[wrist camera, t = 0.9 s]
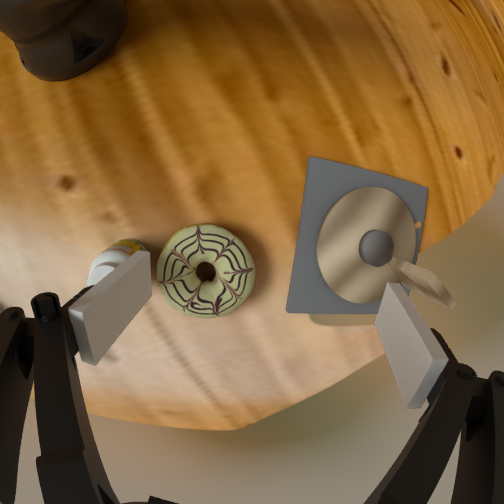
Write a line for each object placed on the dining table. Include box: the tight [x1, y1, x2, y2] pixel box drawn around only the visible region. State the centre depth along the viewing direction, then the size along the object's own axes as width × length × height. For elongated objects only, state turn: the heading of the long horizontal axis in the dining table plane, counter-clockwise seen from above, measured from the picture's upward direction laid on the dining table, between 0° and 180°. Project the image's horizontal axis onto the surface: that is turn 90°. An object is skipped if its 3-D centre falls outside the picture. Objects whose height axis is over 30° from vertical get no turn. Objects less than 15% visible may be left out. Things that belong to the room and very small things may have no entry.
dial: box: [316, 187, 456, 310], centre depth 32 cm, size 17×15×10 cm
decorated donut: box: [156, 223, 255, 319], centre depth 33 cm, size 10×11×4 cm
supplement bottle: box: [87, 239, 147, 287], centre depth 28 cm, size 5×5×10 cm
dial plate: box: [286, 157, 428, 314], centre depth 37 cm, size 19×19×1 cm
